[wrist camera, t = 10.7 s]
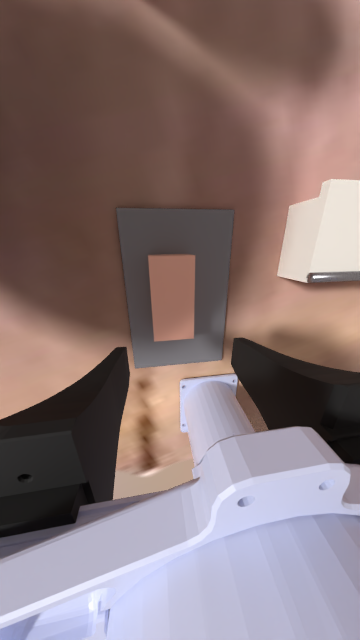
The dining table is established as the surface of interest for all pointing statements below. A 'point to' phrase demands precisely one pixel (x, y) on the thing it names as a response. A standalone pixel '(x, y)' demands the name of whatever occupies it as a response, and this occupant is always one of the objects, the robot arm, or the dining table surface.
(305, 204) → the panel
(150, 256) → the tall pink rectangular block
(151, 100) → the dining table surface
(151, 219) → the mat
